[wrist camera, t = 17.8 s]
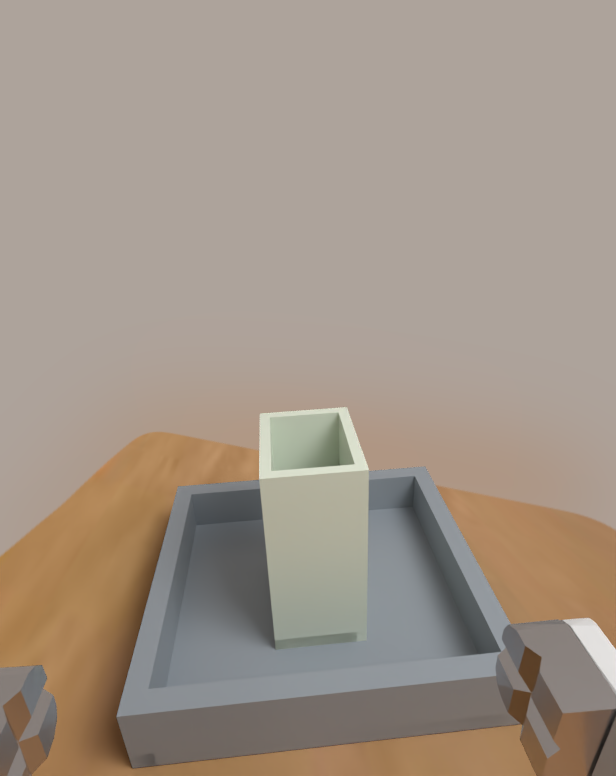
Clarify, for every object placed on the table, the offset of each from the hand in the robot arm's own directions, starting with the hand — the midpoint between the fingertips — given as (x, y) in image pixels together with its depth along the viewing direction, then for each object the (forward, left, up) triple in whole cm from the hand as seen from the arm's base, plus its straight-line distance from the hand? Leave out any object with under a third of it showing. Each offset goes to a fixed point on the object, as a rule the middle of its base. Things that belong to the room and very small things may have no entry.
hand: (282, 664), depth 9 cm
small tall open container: (+2, +18, -18) cm, 25 cm away
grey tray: (+2, +18, -19) cm, 26 cm away
